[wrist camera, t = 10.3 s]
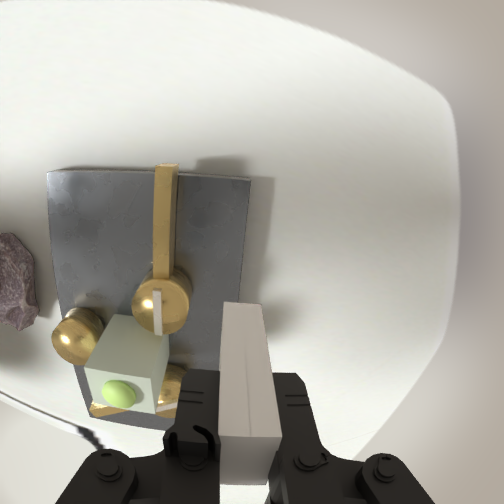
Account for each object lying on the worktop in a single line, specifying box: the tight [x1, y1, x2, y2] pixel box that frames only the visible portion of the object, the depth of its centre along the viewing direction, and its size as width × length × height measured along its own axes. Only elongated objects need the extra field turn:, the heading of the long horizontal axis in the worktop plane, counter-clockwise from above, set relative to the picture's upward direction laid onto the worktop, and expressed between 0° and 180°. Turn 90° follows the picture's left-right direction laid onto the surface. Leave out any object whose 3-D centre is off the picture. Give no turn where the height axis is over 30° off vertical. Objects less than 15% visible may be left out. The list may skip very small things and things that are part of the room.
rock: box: [0, 233, 39, 331], centre depth 29 cm, size 8×11×5 cm
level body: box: [84, 314, 169, 414], centre depth 27 cm, size 6×5×10 cm
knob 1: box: [131, 163, 192, 336], centre depth 26 cm, size 14×5×5 cm, turn 174°
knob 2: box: [89, 364, 187, 418], centre depth 32 cm, size 14×5×5 cm, turn 114°
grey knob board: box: [47, 170, 251, 431], centre depth 31 cm, size 20×34×6 cm, turn 174°
